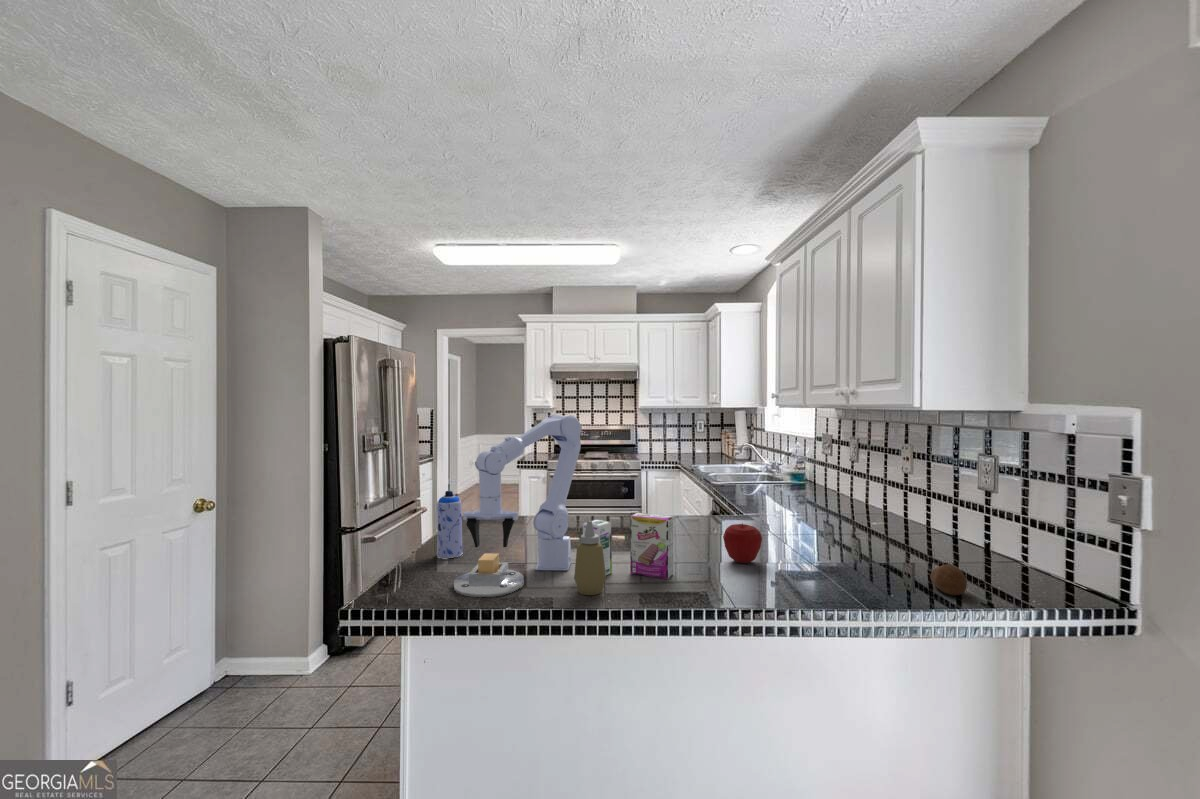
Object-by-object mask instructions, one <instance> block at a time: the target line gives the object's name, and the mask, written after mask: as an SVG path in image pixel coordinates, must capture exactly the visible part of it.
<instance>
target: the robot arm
mask: <svg viewBox="0 0 1200 799" xmlns="http://www.w3.org/2000/svg"><path fill="white" fill-rule="evenodd" d="M582 428H583V426H582V424H581V423H580V420H579V419H578V418H577V417H576V416H574V415H560V414H551V415H549V416H548V417H545V418H544V419H542V421H540V422H539V423H538V424H536V425H534V426H533V427H532V428H530V429H529V430H527V431H526V432H524V433H523V434H521V435H520V436H518V437H516V436H514V435H513V436H506V437H504V441H502V442H501V443H499V444H497V445H492V446H491V447H490V450H483V451H482V452H480V453H479V454H478V456H477V457H476V461H474V466H475V468H476V470H477V471H478V477H479V480H478V481H479V482H478V483H479V486H478V490H479V510H474V511H473V510H471V511H470V510H469V511H464V512H462V521H466V523H465V525H466V527H467V528H468V530H469V532H470V535H471V536H472V537H471V538H472V540H473V544H474V548H478V547H479V546H480V525H481V524H480V521H482V520H483V521H484V520H486V521H487V520H489V521H490V520H493V521H494V520H499V521H500V520H503V521H502V522H501V523H502V524H501V526H502V538H503V539H502V540H503V542H502V548H507V547H508V542H509V537H510V534H511V530H512V528H513V525H514V523H515V522H516V521H517V520H519V511H514V510H513V511H511V510H502V475H501V474H502V472H503V470H504V469H505V466H507V465H508V464H509V463H511V462H513V460H515V459H517V458H519V457H521V456H522V455H523V454H524V452H525V449H526V448H527V447H528V446H531V445H532V444H534V443H536V442H538V441H540V440H541V439H543V438H545V437H546V436H550V437H551V438H552V439H554V440H555V441H556V442H557V444H558V446H559V448H560V451H559V456H558V459H557V463H556V466H555V469H554V472H553V476H552V480H551V483H550V487H549V490H548V494H547V497H546V500H545V501H544V502H543V503H541V505H540V506H539V509H538V511H537V512H536V514H535V515H534V517H533V521H532V525H533V528H534V529H535V530H536V531H537V558H538V559H537V564H536V566H535V568H534V570H535V571H569V568H570V566H571V563H572V556H571V554H572V552H571V550H572V549H571V546H572V545H571V544H572V543H571V536H568V535H565V534H566V533H567V531H568V528H569V527H568V525H569V523H568V517H569V512H568V509H567V507H566V504H567V503H566V502H567V499H568V498H567V497H568V495H569V492H570V488H571V484H572V481H573V478H574V474H575V470H576V466H577V462H578V459H579V455H580V452H581V446H582V443H581V434H582V432H581V431H582Z"/></svg>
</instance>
